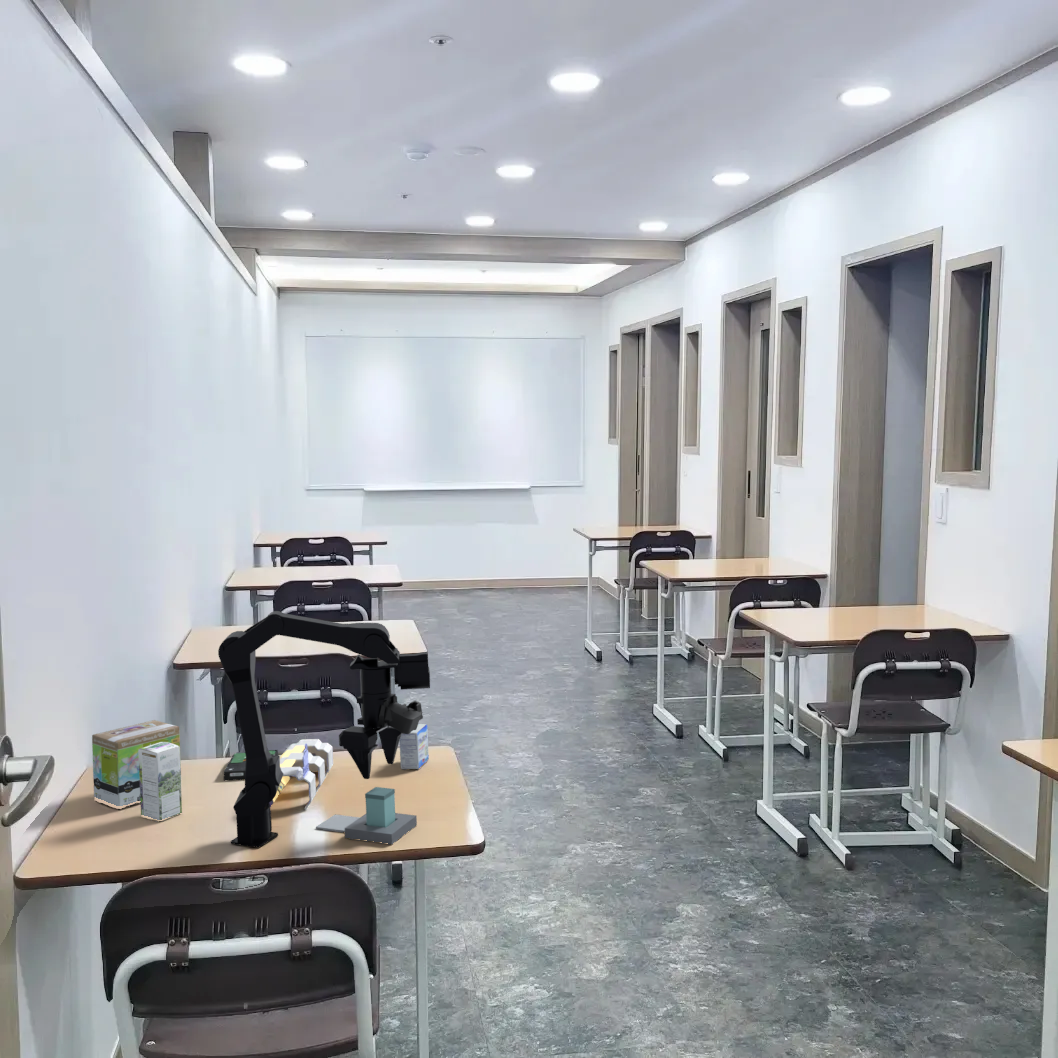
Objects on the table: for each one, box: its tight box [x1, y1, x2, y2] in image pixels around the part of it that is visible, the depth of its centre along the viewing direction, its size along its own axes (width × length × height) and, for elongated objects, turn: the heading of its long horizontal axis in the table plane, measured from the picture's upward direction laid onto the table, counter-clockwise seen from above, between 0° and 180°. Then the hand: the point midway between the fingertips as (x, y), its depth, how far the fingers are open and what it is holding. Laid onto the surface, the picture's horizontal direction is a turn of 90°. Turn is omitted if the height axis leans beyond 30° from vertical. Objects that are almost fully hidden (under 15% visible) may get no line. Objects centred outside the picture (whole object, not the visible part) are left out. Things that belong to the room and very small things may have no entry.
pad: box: [315, 814, 361, 833], centre depth 200 cm, size 7×7×1 cm
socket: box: [344, 812, 418, 845], centre depth 196 cm, size 10×10×2 cm
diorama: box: [269, 738, 334, 810], centre depth 221 cm, size 25×10×13 cm, turn 1°
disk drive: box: [223, 749, 279, 782], centre depth 236 cm, size 10×3×15 cm
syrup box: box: [138, 742, 183, 820], centre depth 206 cm, size 6×6×14 cm
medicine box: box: [399, 723, 430, 770], centre depth 236 cm, size 8×4×9 cm, turn 168°
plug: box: [364, 786, 396, 828], centre depth 195 cm, size 4×4×8 cm
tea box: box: [91, 719, 182, 806], centre depth 219 cm, size 15×10×15 cm, turn 143°
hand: (378, 771), depth 195 cm, fingers open, 9 cm apart
